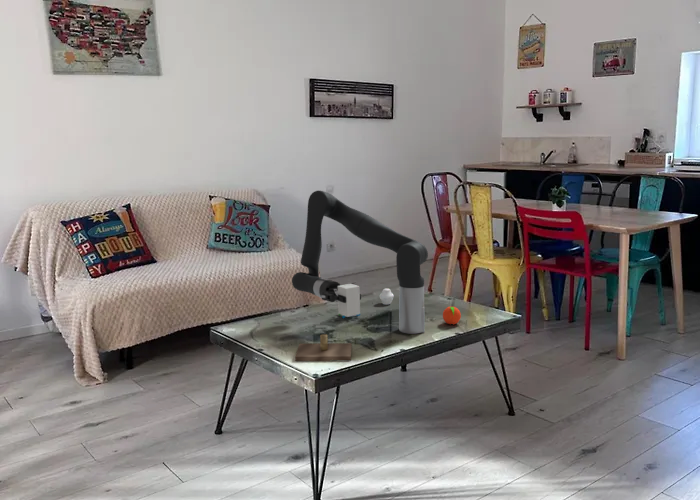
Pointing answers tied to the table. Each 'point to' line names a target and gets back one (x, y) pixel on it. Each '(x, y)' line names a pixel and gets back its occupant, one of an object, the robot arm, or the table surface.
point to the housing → (349, 300)
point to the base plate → (323, 351)
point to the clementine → (451, 315)
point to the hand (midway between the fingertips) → (352, 298)
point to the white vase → (386, 296)
